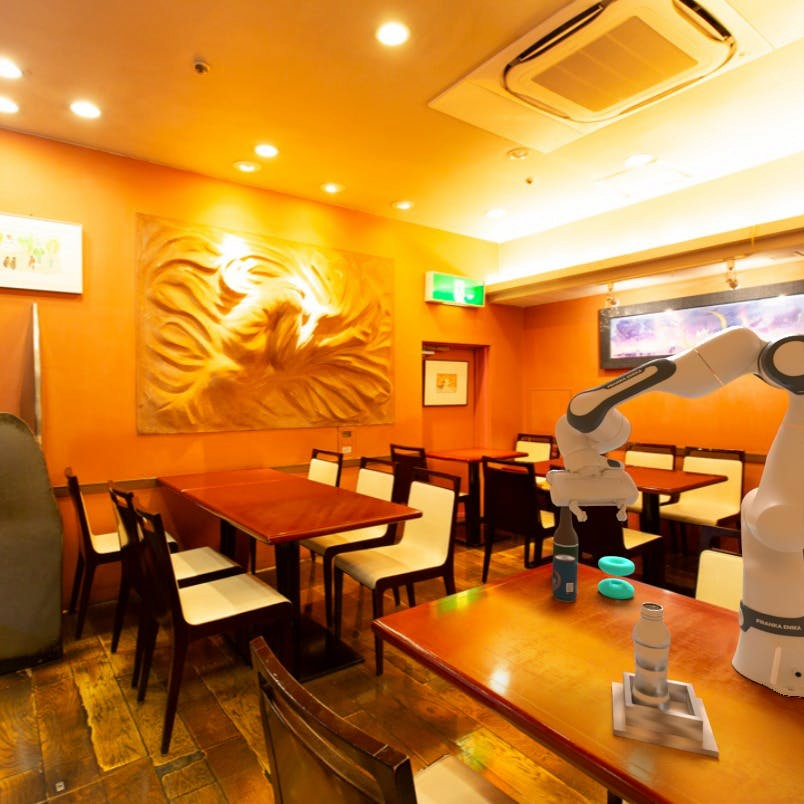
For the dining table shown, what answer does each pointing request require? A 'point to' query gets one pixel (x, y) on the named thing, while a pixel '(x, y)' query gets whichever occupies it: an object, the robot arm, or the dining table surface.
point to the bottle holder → (664, 719)
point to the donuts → (616, 586)
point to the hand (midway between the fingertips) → (603, 519)
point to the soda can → (564, 577)
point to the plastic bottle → (651, 659)
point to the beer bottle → (565, 536)
